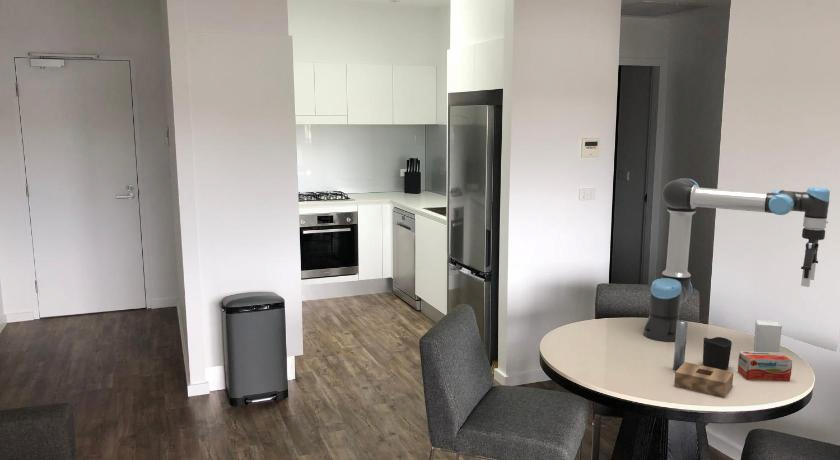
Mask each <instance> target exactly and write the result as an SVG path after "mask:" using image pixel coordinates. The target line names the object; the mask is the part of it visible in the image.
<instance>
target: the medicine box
mask: <svg viewBox="0 0 840 460" xmlns="http://www.w3.org/2000/svg"><path fill="white" fill-rule="evenodd" d="M792 370H793V360H792V359H791V358H789V357H788V356H786V355H785V354H784V353H782V352H779V353H776V352H753V351H739V354H738V359H737V373H739V374H740V375H741V376H742V377H744V379H745V380H749V381H772V382H775V381H776V382H790V381H791V376H792Z"/></svg>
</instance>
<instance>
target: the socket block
mask: <svg viewBox="0 0 840 460" xmlns="http://www.w3.org/2000/svg"><path fill="white" fill-rule="evenodd" d="M733 382H734V371H730V370H727V369H726V370H721V369H716V368H711V367H707V366H704V365H703V364H702V365H700V364H698V363H697V364H696V363H691V362H687V361H684V363H683V364H682V365H681V366H680V367H679V369H678V370H677V371H675V372H674V384H673V386H674V387H677V388H681V389H686V390H690V391H694V392H698V393H702V394H703V393H704V394H708V395H711V396H716V397H719V398H720V397H721V398H726V396H727V394H728V393H729V391H730V390H731V389H732V387H733Z"/></svg>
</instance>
